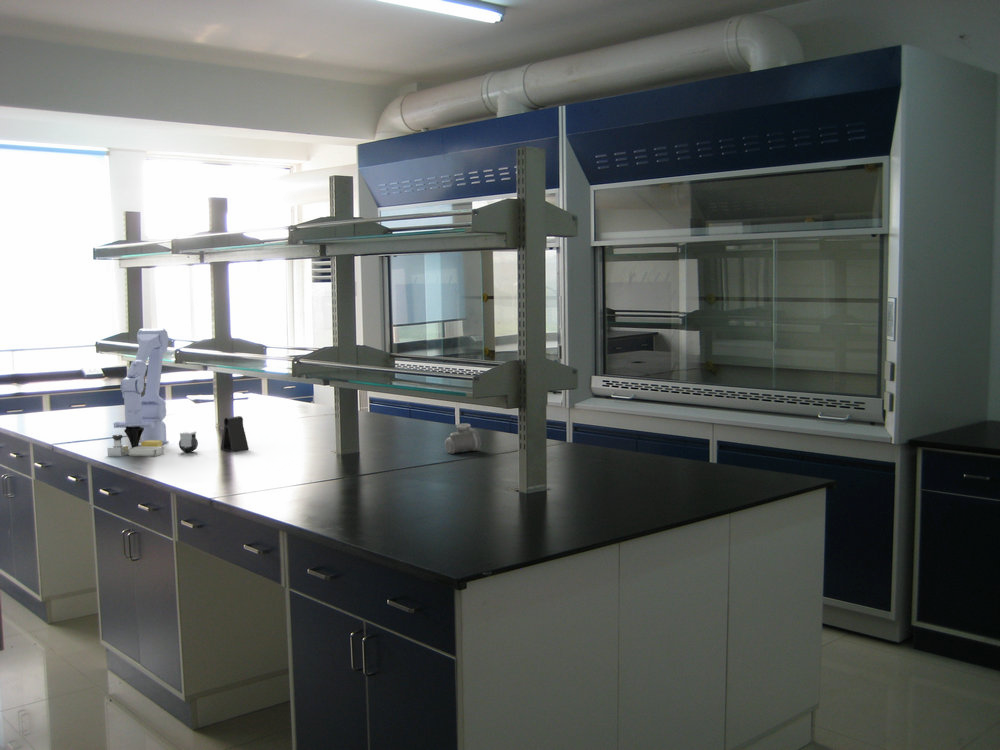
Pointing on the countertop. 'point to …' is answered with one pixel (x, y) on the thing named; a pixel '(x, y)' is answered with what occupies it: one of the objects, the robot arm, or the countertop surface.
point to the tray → (145, 451)
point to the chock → (152, 443)
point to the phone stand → (234, 435)
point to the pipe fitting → (463, 439)
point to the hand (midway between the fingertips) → (135, 447)
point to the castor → (188, 441)
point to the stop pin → (117, 440)
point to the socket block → (118, 450)
